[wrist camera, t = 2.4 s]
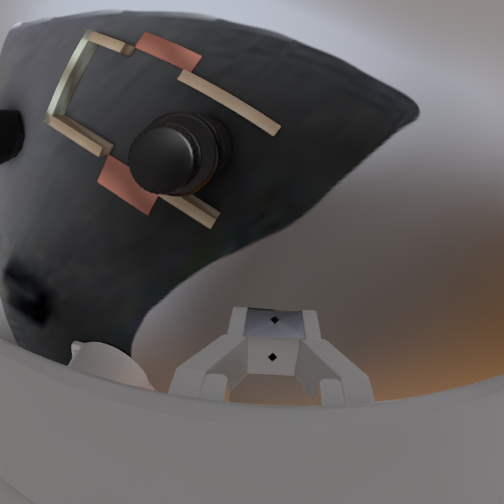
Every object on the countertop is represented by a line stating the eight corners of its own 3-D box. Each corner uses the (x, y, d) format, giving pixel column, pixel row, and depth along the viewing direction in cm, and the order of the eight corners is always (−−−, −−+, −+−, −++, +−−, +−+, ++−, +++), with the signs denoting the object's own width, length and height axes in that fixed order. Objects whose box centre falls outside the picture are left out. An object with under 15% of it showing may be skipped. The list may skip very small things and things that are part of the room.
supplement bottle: (194, 190, 29) (150, 229, 19) (159, 140, 27) (97, 152, 16) (247, 155, 27) (230, 173, 17) (211, 102, 25) (170, 87, 14)
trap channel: (198, 246, 32) (192, 256, 30) (46, 145, 28) (34, 148, 25) (292, 109, 25) (294, 107, 23) (108, 19, 20) (97, 14, 18)
